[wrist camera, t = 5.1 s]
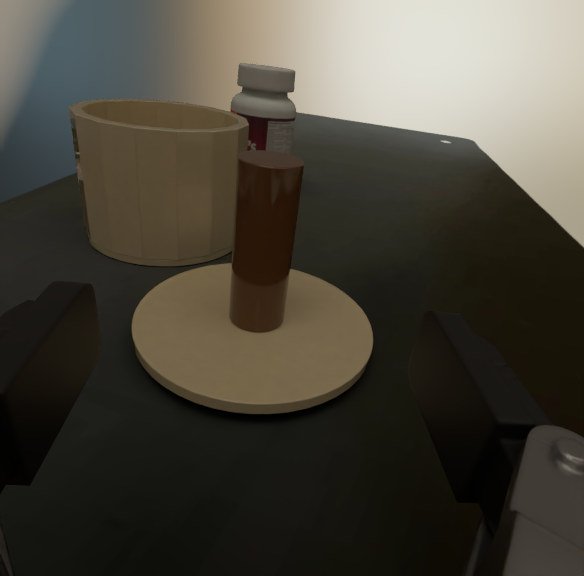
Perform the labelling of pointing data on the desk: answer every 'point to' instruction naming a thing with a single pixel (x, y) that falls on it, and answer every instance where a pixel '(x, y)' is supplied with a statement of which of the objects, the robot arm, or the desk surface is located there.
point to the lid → (254, 312)
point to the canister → (157, 178)
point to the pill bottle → (266, 106)
